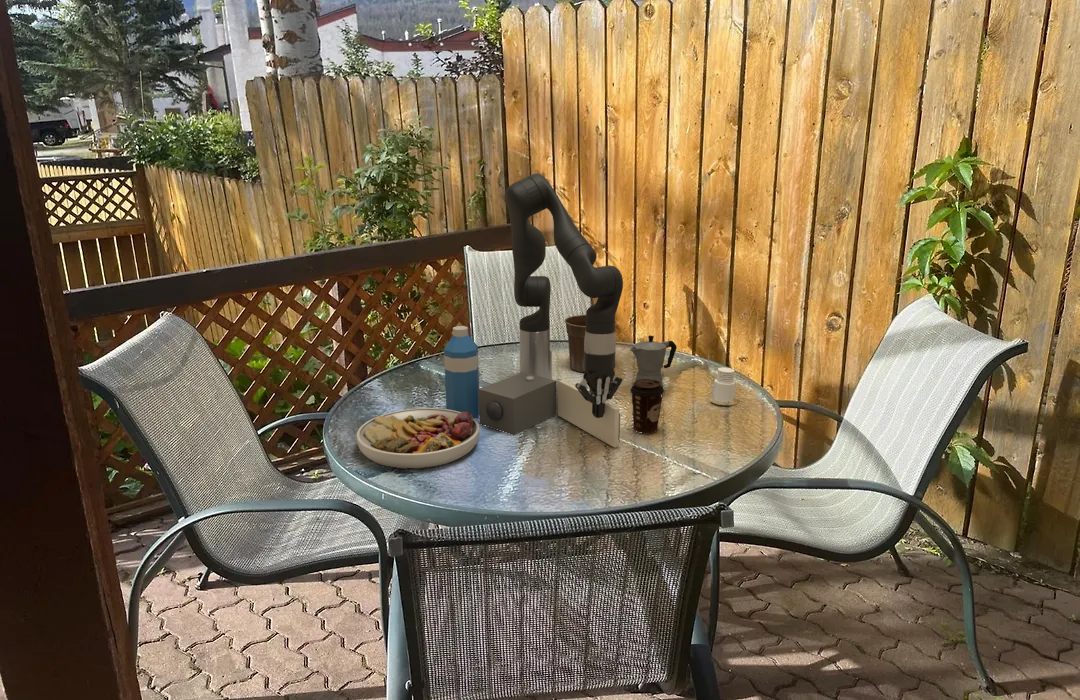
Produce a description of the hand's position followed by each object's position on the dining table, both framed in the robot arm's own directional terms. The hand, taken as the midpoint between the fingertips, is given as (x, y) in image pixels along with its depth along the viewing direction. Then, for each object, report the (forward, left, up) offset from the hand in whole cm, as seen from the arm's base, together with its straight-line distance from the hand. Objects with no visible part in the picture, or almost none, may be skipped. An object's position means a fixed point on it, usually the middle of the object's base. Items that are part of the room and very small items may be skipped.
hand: (598, 416), depth 189 cm
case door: (-6, -8, -7) cm, 12 cm away
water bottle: (+6, -41, -8) cm, 42 cm away
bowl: (+28, -35, -8) cm, 45 cm away
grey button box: (-1, -27, -8) cm, 28 cm away
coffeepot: (-41, -9, -8) cm, 43 cm away
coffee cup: (-16, +4, -8) cm, 19 cm away
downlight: (-47, +11, -8) cm, 49 cm away
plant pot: (-50, -38, -8) cm, 63 cm away
